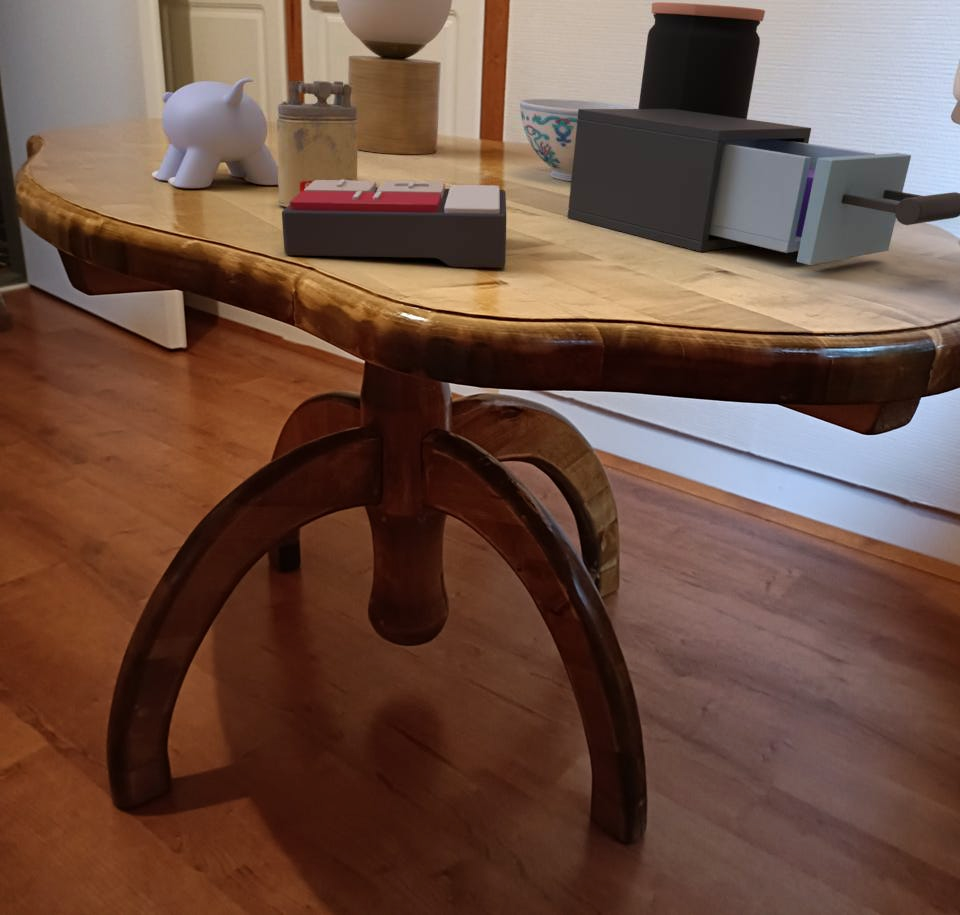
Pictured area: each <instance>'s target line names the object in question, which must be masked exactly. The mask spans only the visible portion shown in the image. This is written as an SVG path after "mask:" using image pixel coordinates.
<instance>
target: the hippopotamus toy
mask: <svg viewBox="0 0 960 915" xmlns="http://www.w3.org/2000/svg"><path fill="white" fill-rule="evenodd" d="M252 82H254V80H253V79H252V78H250V77H245V78H241V79H239V80H237V81H236V82H235V83H234V84H233V85H231V84H227V83H226V82H220V81H212V80H203V81H196V82H192V83H189V84H185V85H184V86H183V87H179V89H177V90H176V91H174V92H171V91H166V92H164V93H163V94H162V102H163V103H165V105H164V107H163V110H162V114H161V124H162V130H163V132H164V134H165V136H166V138H167V140H168V141H169V146H168V148H167V151H166V153H165V155H164V157H163V160H162V162H161V164H160V166H159V169H158V170H155V171H153V172H152V173H151V177H152V178H155V179H156V180H159V181H165V182H166V181H167V182H168V183H169V184H170V185H172V186H173V187H176V188H180V189H204V188H208V187H210V186H211V185H212V182H213V180H214V178H215V176H216V174H217V171H218V169H219V167H220V165H221V164H223V163H225V164H226V167H227V168H228V170H227V174H228V175H230V176H232V177H235V178H242V179H244V180H245V181H246V182H248V183H252V184H255V185H264V186H278V163H277V162H276V159H274V156H273V154H272V152H271V150H270V148H269V147H268V146H267V145H266V144H265V143H266V140H267V136H268V123H267V119H266V116H265V113H264V111H263V110H262V108H261V106H260V105H259V104H258V103H257V101H256V100H255V99H254V98H253V97H251V96H250V95H249V94H248V93H246V92H244V85H245V84H246V83H252Z"/></svg>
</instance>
